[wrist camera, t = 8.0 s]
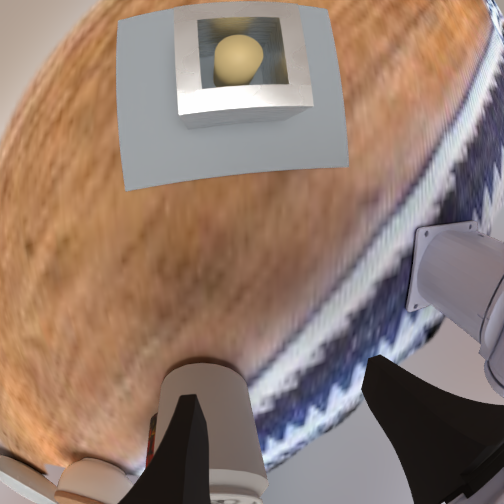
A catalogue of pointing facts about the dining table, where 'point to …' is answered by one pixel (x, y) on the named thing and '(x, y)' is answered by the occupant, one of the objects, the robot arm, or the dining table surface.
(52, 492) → the serving bowl
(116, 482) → the lidded bowl
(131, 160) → the post block
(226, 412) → the can
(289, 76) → the collar
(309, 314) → the dining table surface
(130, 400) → the dining table surface
